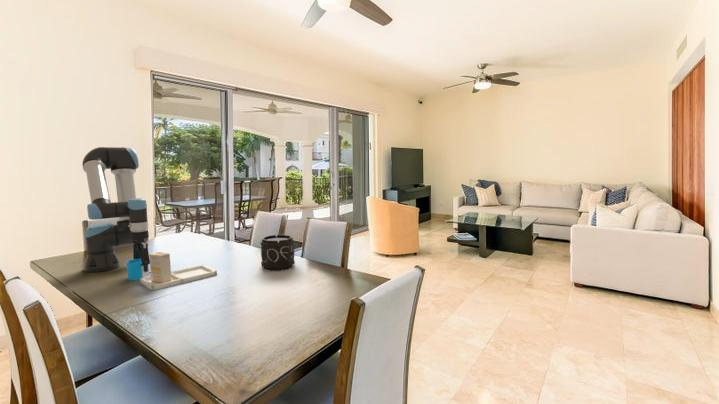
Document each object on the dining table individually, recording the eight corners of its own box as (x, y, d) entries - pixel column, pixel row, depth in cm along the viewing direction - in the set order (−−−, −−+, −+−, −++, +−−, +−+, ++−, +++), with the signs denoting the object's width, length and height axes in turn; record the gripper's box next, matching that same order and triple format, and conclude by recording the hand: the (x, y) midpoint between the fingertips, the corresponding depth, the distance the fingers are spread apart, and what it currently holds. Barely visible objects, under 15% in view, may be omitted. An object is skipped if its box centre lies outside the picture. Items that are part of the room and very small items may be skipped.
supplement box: (172, 280, 162) (170, 253, 161) (162, 284, 158) (160, 255, 157) (160, 278, 166) (158, 251, 164) (150, 281, 162) (148, 253, 160)
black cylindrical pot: (284, 273, 175) (283, 242, 173) (254, 269, 181) (253, 240, 179) (301, 263, 192) (301, 235, 190) (273, 260, 198) (272, 233, 196)
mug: (129, 281, 164) (128, 264, 163) (126, 277, 170) (125, 260, 169) (158, 275, 172) (157, 259, 171) (154, 271, 178) (153, 256, 177)
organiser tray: (140, 282, 162) (139, 278, 162) (203, 268, 184) (202, 264, 183) (151, 290, 152) (151, 286, 151) (217, 274, 173) (216, 270, 173)
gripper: (123, 228, 173) (127, 272, 176) (137, 234, 158) (141, 282, 161) (140, 226, 179) (144, 269, 181) (155, 232, 164) (158, 278, 166)
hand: (142, 275), depth 171 cm, fingers open, 9 cm apart
